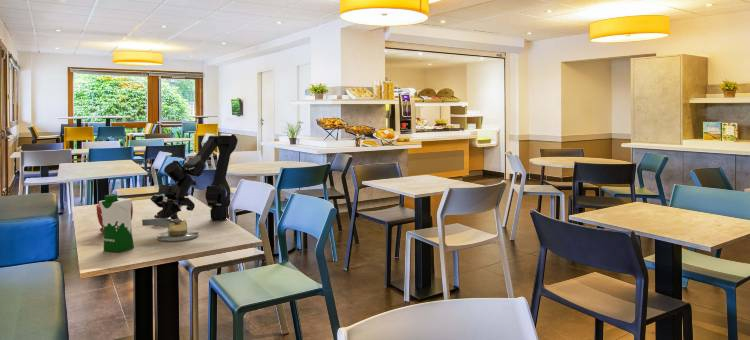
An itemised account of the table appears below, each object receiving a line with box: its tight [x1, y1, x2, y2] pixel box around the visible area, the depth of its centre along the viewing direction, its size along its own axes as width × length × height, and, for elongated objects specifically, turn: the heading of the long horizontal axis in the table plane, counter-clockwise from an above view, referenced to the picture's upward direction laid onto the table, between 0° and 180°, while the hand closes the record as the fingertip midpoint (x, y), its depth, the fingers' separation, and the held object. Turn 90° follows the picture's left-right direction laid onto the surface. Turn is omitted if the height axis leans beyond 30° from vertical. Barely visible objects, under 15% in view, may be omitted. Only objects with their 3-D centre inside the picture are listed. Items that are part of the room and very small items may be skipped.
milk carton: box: [98, 193, 135, 254], centre depth 189 cm, size 9×9×20 cm
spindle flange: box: [156, 218, 199, 243], centre depth 207 cm, size 15×15×7 cm
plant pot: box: [96, 203, 134, 234], centre depth 215 cm, size 13×13×12 cm
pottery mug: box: [153, 208, 180, 220], centre depth 232 cm, size 12×10×8 cm
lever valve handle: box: [141, 217, 188, 236], centre depth 206 cm, size 16×7×6 cm, turn 104°
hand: (162, 220), depth 209 cm, fingers closed
